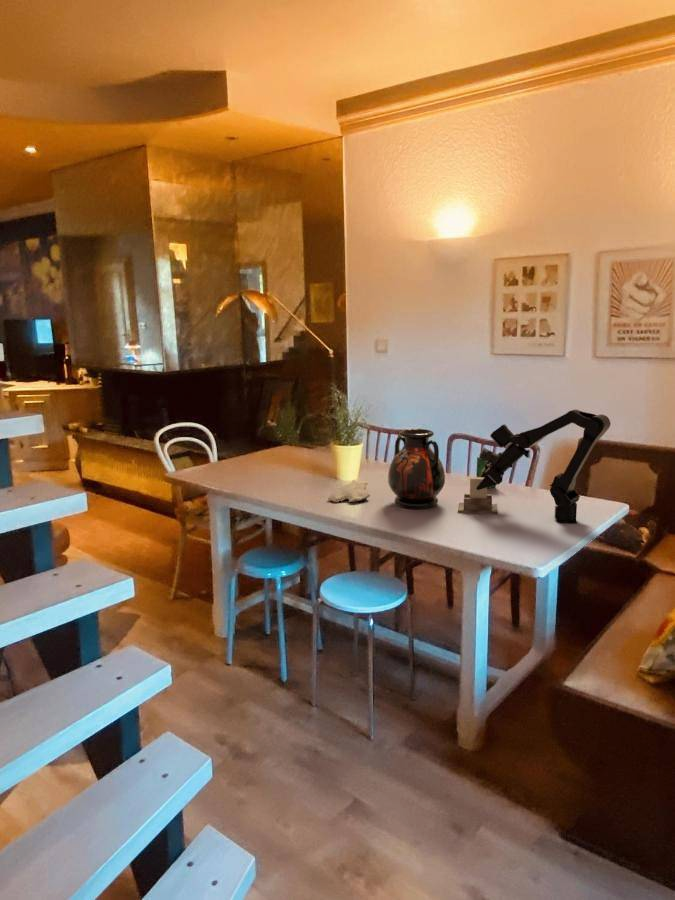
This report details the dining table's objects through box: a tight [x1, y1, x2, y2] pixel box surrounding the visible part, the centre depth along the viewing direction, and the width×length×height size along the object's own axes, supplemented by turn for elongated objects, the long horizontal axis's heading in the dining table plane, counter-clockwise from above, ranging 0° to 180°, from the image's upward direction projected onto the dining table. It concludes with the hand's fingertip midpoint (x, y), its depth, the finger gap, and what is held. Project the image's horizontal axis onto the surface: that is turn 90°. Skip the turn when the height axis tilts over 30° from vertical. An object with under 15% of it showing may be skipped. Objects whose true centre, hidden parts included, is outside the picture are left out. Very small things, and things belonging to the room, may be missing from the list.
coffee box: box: [475, 456, 497, 489], centre depth 273 cm, size 8×3×13 cm, turn 106°
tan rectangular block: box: [469, 476, 488, 499], centre depth 244 cm, size 6×3×11 cm, turn 78°
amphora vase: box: [387, 428, 446, 510], centre depth 251 cm, size 22×22×28 cm
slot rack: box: [457, 493, 498, 515], centre depth 245 cm, size 14×10×5 cm
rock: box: [327, 479, 371, 503], centre depth 264 cm, size 21×5×15 cm
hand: (477, 485), depth 243 cm, fingers open, 9 cm apart
